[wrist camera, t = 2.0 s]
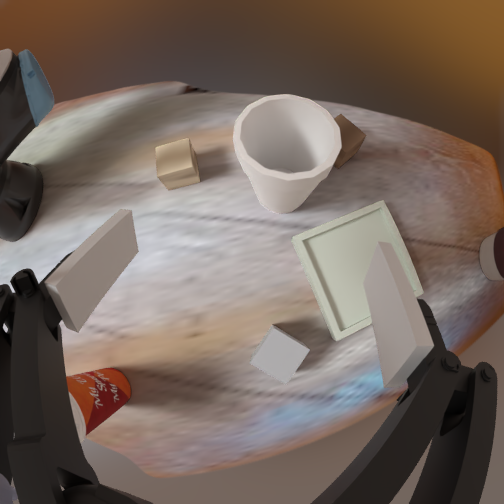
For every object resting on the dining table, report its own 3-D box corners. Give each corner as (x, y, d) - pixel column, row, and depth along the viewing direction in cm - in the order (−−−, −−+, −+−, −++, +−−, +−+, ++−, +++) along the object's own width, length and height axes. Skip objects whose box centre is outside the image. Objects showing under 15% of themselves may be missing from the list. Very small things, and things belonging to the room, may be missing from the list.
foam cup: (328, 210, 34) (360, 161, 21) (261, 237, 33) (259, 197, 21) (297, 150, 35) (309, 85, 23) (233, 172, 35) (219, 111, 22)
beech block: (166, 163, 36) (155, 147, 32) (196, 155, 36) (188, 137, 32) (168, 190, 35) (157, 176, 31) (200, 182, 35) (192, 166, 31)
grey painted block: (251, 355, 31) (249, 363, 27) (272, 324, 32) (273, 327, 27) (283, 374, 30) (286, 384, 26) (304, 343, 31) (310, 349, 27)
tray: (291, 240, 33) (292, 236, 31) (377, 204, 33) (383, 199, 32) (332, 339, 31) (336, 341, 29) (416, 293, 31) (423, 292, 29)
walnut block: (314, 147, 36) (319, 129, 31) (334, 132, 36) (340, 113, 32) (337, 169, 35) (346, 152, 30) (357, 152, 35) (366, 135, 31)
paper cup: (143, 374, 31) (81, 406, 17) (133, 420, 30) (77, 462, 16) (96, 350, 32) (26, 365, 18) (88, 395, 30) (26, 421, 17)
